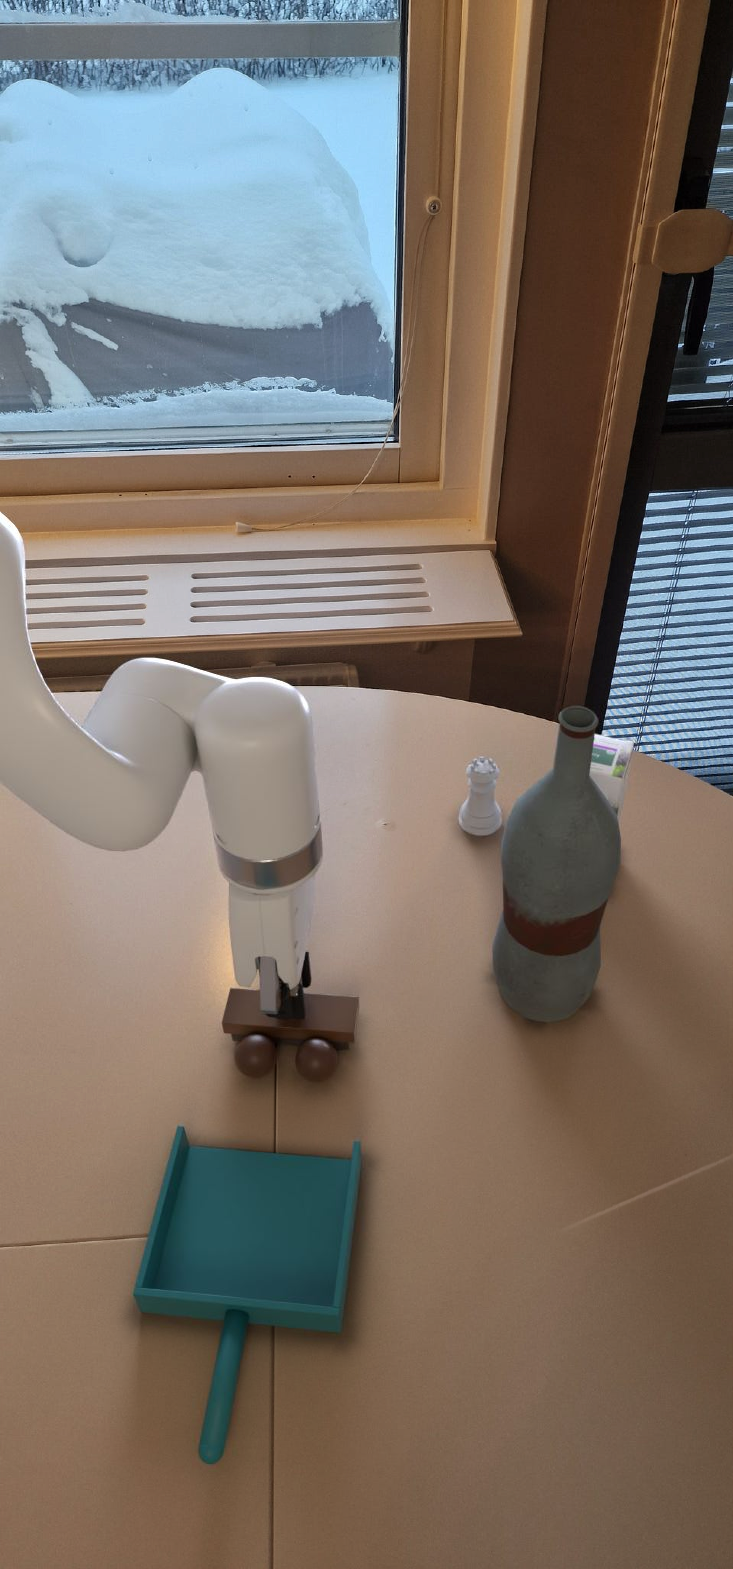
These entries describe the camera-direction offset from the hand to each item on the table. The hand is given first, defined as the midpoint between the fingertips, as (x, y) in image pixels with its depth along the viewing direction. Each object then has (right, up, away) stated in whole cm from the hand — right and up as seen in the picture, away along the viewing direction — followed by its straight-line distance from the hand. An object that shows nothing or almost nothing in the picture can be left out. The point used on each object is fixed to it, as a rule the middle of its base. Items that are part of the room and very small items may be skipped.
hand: (289, 998), depth 85 cm
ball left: (-3, -5, 0) cm, 5 cm away
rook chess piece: (+18, +13, +22) cm, 31 cm away
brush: (0, -3, +3) cm, 5 cm away
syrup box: (+27, +10, +17) cm, 34 cm away
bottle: (+22, 0, +6) cm, 23 cm away
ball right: (+2, -5, -1) cm, 5 cm away
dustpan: (-2, -18, -13) cm, 22 cm away
